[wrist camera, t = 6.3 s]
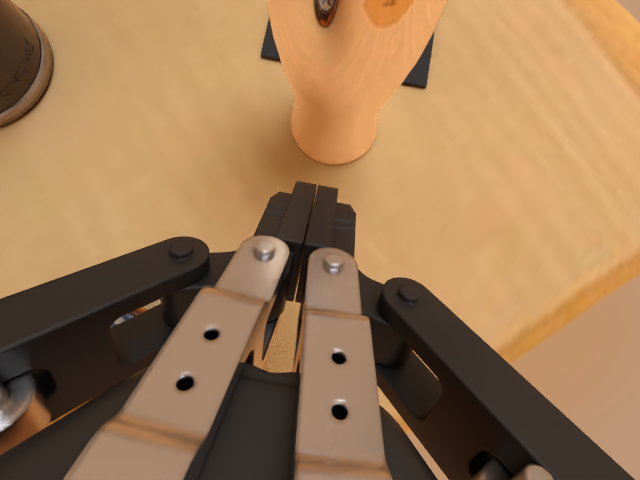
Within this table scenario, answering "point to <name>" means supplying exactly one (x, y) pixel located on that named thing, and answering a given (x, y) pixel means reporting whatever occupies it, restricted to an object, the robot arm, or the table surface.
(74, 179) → the table surface
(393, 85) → the copper cup
